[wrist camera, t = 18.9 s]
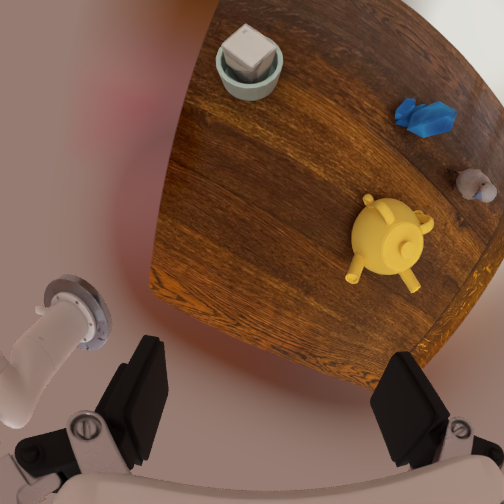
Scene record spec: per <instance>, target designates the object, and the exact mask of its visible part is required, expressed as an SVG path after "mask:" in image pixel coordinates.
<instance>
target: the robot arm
mask: <svg viewBox="0 0 504 504" xmlns="http://www.w3.org/2000/svg"><path fill="white" fill-rule="evenodd" d="M35 312H36V313H37V314H39V315H43V316H42V317H41V318H40V319H39V320H38V321H37V322H36V323H35V324H33V326H31V327H30V328H29V329H28V330H27V331H26V332H25V333H24V334H23V335H22V336H21V337H20V338H19V339H18V340H17V341H16V342H15V344H14V346H13V348H12V352H11V359H10V363H9V362H8V361H7V360H6V358H5V357H4V356H3V354H2V353H1V351H0V421H1V422H2V423H3V424H5V425H6V426H8V427H10V428H14V429H19V428H22V427H23V426H25V425H26V424H27V423H28V421H29V420H30V418H31V416H32V414H33V412H34V409H35V407H36V404H37V402H38V400H39V398H40V395H41V394H42V392H43V390H44V389H45V387H46V386H47V384H48V383H49V382H50V380H51V379H52V377H53V376H54V375H55V373H56V372H57V371H58V369H59V368H60V367H61V366H62V364H63V363H64V362H65V360H66V359H67V358H68V357H69V355H70V354H71V353H72V351H73V350H74V349H75V347H76V346H77V345H78V344H79V343H80V342H81V343H85V342H88V341H90V340H91V339H92V338H93V336H94V335H95V332H96V322H95V319H94V316H93V314H92V312H91V310H90V309H89V307H88V306H87V305H86V304H85V302H83V301H82V300H81V299H80V298H79V297H78V296H76V295H74V294H72V293H69V292H60V293H58V294H56V295H55V296H54V297H53V299H52V301H51V306H50V307H49V308H48V307H46V308H43V307H41V306H36V308H35ZM167 396H168V380H167V371H166V361H165V350H164V342H162V341H160V340H159V338H158V337H154V336H148V335H144V336H143V338H142V339H141V341H140V343H139V345H138V347H137V349H136V350H135V352H134V354H133V356H132V358H131V359H130V361H129V363H128V364H126V363H122V364H120V366H119V367H118V369H117V371H116V373H115V374H114V376H113V378H112V380H111V381H110V383H109V385H108V387H107V389H106V391H105V392H104V394H103V396H102V398H101V400H100V402H99V404H98V405H97V407H96V409H95V411H94V412H93V411H88V410H85V411H79V412H76V413H74V414H73V415H71V416H70V418H69V419H68V421H67V424H66V428H64V429H60V430H57V431H53V432H49V433H46V434H42V435H38V436H33V437H29V438H26V439H23V440H21V441H20V442H19V443H18V444H17V446H16V448H15V454H13V455H10V454H9V453H8V454H6V455H5V456H3V457H1V458H0V504H40V502H42V501H43V500H45V499H46V498H45V496H47V495H48V494H50V493H51V492H52V493H57V495H56V496H55V498H54V500H53V502H52V504H504V453H503V451H502V449H501V447H500V446H499V445H497V444H495V443H492V442H490V441H487V440H485V439H482V438H479V437H477V436H474V429H473V426H472V424H471V423H470V422H469V421H468V420H467V419H465V418H463V417H454V418H452V419H451V420H450V421H449V420H448V417H449V416H450V413H449V412H448V410H447V409H446V407H445V405H444V404H443V402H442V401H441V399H440V397H439V396H438V394H437V393H436V391H435V389H434V388H433V386H432V385H431V383H430V382H429V380H428V379H427V377H426V376H425V374H424V373H423V371H422V370H421V368H420V367H419V365H418V364H417V362H416V361H415V359H414V358H413V356H412V355H411V353H410V352H408V351H405V352H396V353H395V354H394V356H392V357H391V359H390V361H389V363H388V365H387V367H386V369H385V371H384V373H383V375H382V377H381V379H380V381H379V383H378V385H377V387H376V389H375V391H374V393H373V395H372V397H371V399H370V404H371V407H372V409H373V412H374V414H375V417H376V420H377V422H378V425H379V427H380V430H381V432H382V435H383V438H384V440H385V443H386V446H387V448H388V451H389V454H390V456H391V459H392V461H394V462H395V463H396V466H397V467H400V466H403V465H407V464H408V463H409V464H410V468H409V471H407V472H404V473H400V474H397V475H393V476H389V477H385V478H381V479H376V480H371V481H366V482H361V483H355V484H350V485H343V486H336V487H329V488H319V489H308V490H292V491H247V490H230V489H219V488H210V487H201V486H193V485H186V484H180V483H175V482H169V481H164V480H158V479H152V478H147V477H143V476H136V475H132V474H131V472H130V470H131V469H133V467H134V464H136V465H140V466H142V462H143V460H148V458H149V454H150V452H151V448H152V445H153V441H154V438H155V434H156V432H157V428H158V425H159V422H160V419H161V415H162V412H163V409H164V405H165V402H166V399H167ZM0 442H1V437H0Z"/></svg>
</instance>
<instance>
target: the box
mask: <svg viewBox="0 0 504 504" xmlns="http://www.w3.org/2000/svg"><path fill="white" fill-rule="evenodd" d="M222 48H223V52H224V57H225V61H226V66H227V70H228V74H229V75H230V76H231V77H232V78H233V79H234V80H236V81H237V82H239V83H244V84H256V83H259V82H262V81H264V80H265V79H266V78H267V77H268V76H269V73H270V69H271V65H272V62H273V58H274V55H275V51H276V49H277V46H276V45H275V44H274V43H273V42H271V41H270V40H269V39H267V38H266V37H265V36H263V35H262V34H261V33H259V32H258V31H256V30H255V29H253V28H252V27H250V26H249V25H247V24H244V25H243V26H242V27H241V28H239V29H238V30H237V31H236V32H235V33H233V34H232V35H231V36H230V37H229V38H228V39H227V40H226V41H225V42H224V43H223V44H222Z"/></svg>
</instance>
